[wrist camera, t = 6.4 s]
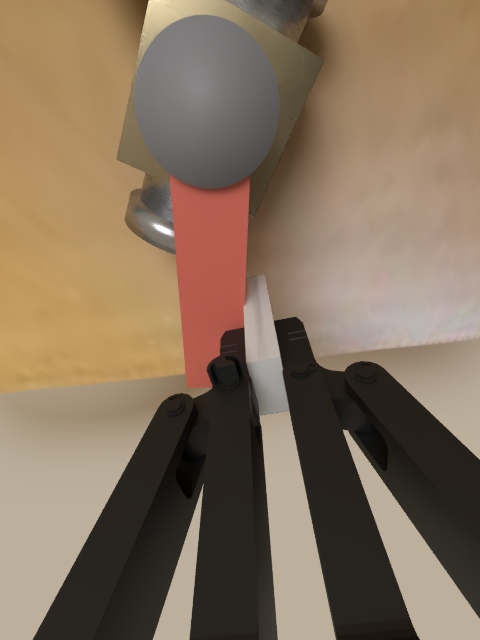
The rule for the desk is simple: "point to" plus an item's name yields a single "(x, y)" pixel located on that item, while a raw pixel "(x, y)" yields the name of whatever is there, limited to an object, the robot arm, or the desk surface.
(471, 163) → the desk surface
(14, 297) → the desk surface
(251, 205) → the valve body
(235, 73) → the lever
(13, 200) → the desk surface
